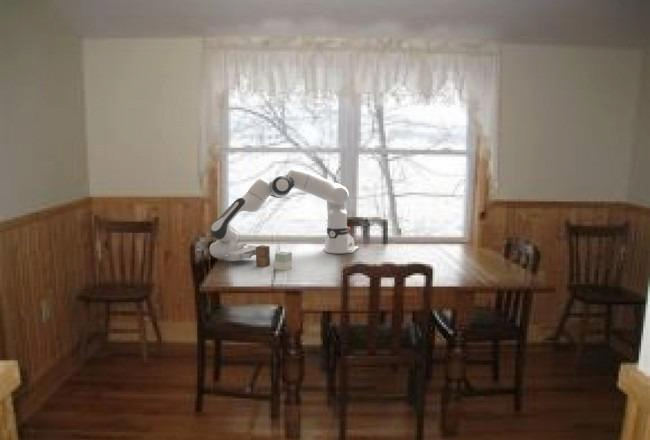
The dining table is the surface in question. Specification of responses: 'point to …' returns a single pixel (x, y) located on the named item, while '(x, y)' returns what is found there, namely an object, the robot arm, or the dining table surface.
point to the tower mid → (283, 257)
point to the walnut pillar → (262, 256)
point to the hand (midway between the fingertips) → (256, 254)
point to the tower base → (283, 265)
